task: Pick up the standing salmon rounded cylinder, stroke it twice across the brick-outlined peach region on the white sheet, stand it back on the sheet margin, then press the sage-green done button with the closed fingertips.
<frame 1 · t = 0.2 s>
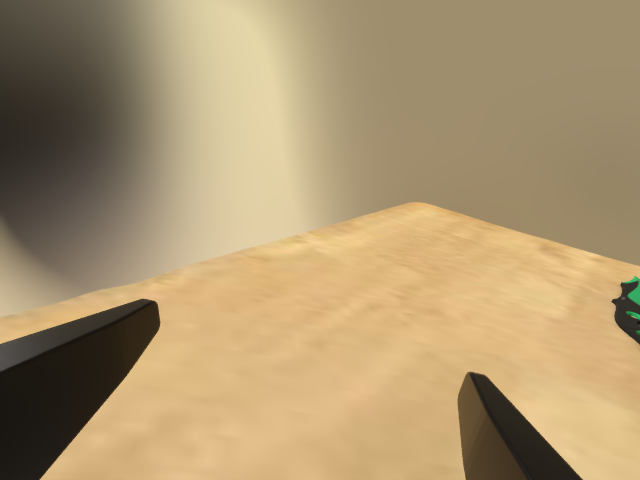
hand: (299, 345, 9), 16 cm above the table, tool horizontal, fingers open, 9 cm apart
knife: (635, 309, 42), on the table
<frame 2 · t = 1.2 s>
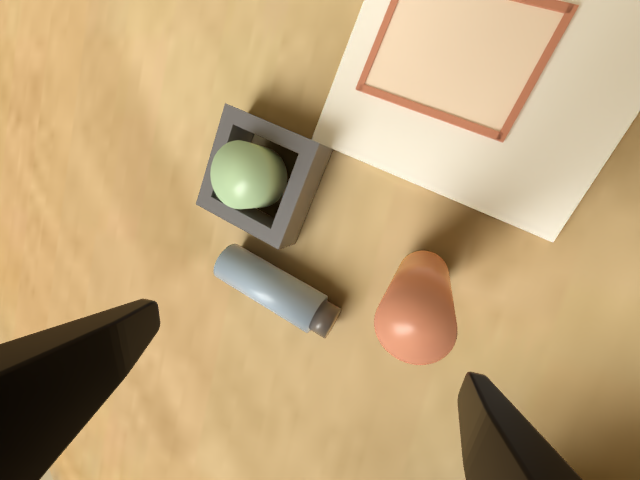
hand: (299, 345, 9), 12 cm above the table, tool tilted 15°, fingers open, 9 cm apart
salmon rounded cylinder: (423, 269, 19), on the table
sheet: (475, 74, 17), on the table
done button: (249, 176, 19), point 3 cm above the table, slide at 0.0 cm
button housing: (271, 178, 22), on the table
blue marker: (284, 288, 23), on the table, tilted 11°
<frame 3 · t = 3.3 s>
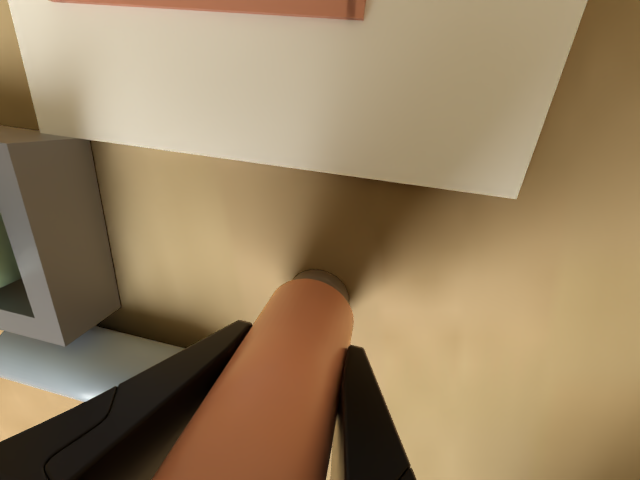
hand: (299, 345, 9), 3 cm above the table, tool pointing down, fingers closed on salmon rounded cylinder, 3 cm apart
salmon rounded cylinder: (318, 297, 11), on the table, touching gripper
button housing: (31, 217, 12), on the table
blue marker: (133, 376, 14), on the table, tilted 58°
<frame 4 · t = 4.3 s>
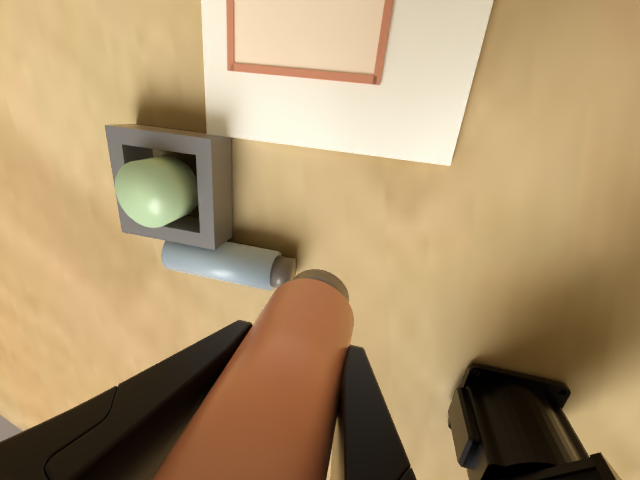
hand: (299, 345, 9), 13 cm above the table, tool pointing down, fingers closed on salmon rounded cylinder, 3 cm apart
salmon rounded cylinder: (318, 296, 11), point 10 cm above the table, touching gripper
sheet: (334, 22, 16), on the table
done button: (159, 191, 19), point 3 cm above the table, slide at 0.0 cm
button housing: (185, 182, 22), on the table
blue marker: (231, 279, 23), point 1 cm above the table, tilted 91°
when the fingers open (4 cm above the table, at t = 10.0 s): salmon rounded cylinder stays where it is, resting on sheet.
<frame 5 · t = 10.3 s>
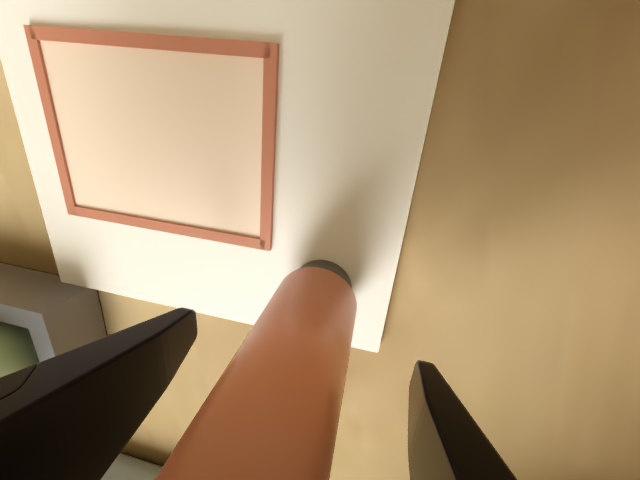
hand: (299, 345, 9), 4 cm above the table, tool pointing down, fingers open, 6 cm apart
salmon rounded cylinder: (322, 286, 12), resting on sheet
sheet: (202, 161, 11), on the table
button housing: (52, 327, 17), on the table
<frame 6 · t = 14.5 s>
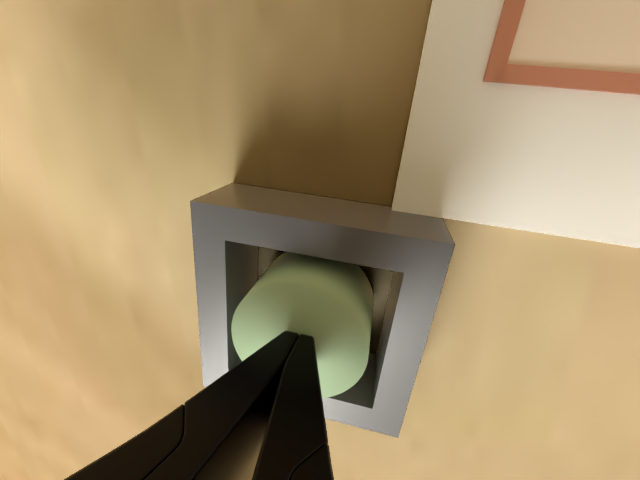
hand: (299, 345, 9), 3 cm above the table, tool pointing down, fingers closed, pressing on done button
done button: (307, 318, 10), point 2 cm above the table, slide at 0.8 cm, touching gripper
button housing: (320, 287, 12), on the table
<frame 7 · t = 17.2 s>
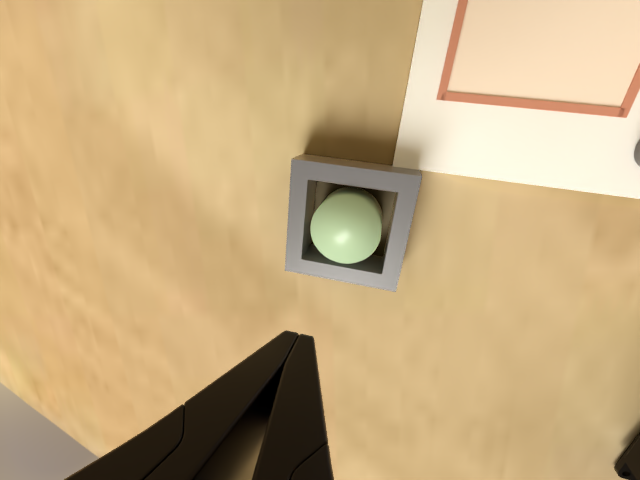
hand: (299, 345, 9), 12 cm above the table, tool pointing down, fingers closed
sheet: (577, 48, 15), on the table
done button: (347, 224, 18), point 2 cm above the table, slide at 1.0 cm
button housing: (351, 215, 20), on the table
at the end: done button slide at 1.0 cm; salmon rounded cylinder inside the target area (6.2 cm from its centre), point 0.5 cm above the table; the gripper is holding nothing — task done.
